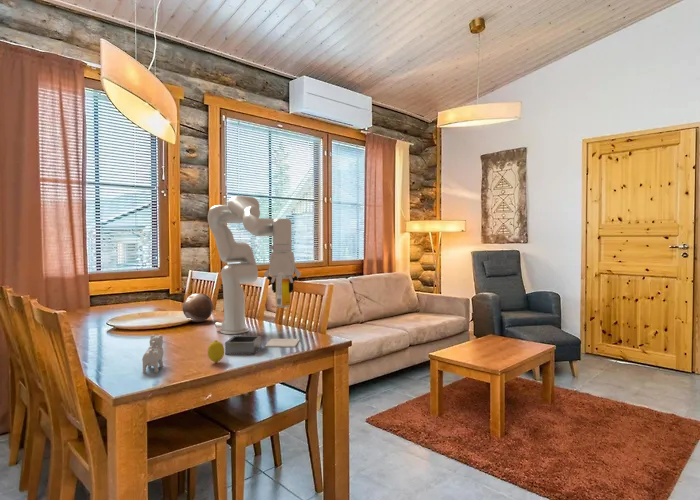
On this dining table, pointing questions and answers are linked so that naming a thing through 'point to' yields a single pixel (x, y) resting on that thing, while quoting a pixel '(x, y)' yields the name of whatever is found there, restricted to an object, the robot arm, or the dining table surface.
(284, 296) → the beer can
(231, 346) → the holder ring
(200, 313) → the wooden sphere
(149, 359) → the white dog figurine
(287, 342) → the tile pad
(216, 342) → the lemon
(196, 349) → the dining table surface
